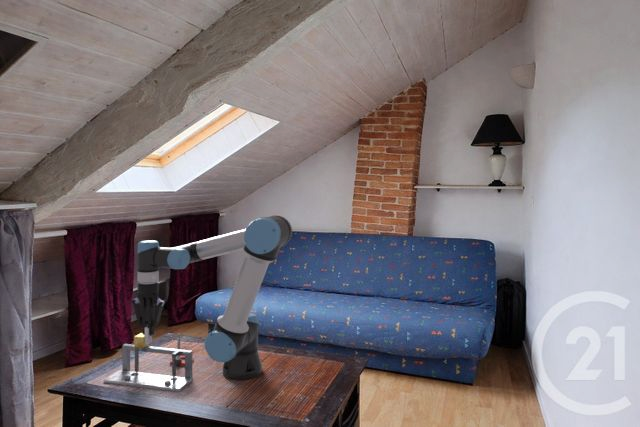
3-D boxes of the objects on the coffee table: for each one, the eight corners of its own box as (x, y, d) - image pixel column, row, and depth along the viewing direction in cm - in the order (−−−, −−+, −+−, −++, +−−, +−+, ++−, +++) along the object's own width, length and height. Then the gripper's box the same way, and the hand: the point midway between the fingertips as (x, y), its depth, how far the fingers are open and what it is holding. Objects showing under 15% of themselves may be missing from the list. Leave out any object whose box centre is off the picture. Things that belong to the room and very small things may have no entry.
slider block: (149, 368, 179) (149, 334, 178) (140, 374, 173) (140, 339, 172) (140, 367, 180) (140, 333, 179) (131, 373, 174) (130, 338, 173)
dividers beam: (192, 377, 175) (192, 350, 174) (185, 383, 170) (185, 355, 169) (125, 370, 180) (125, 343, 179) (117, 375, 175) (117, 348, 175)
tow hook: (177, 357, 195) (167, 365, 186) (178, 327, 194) (168, 333, 185) (196, 359, 193) (187, 367, 184) (197, 328, 193) (188, 335, 184)
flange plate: (191, 381, 172) (191, 376, 172) (179, 391, 163) (179, 386, 163) (119, 372, 178) (119, 367, 178) (103, 382, 169) (103, 377, 169)
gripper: (169, 281, 177) (169, 341, 179) (138, 278, 179) (138, 338, 181) (158, 285, 169) (158, 348, 171) (126, 282, 172) (127, 345, 174)
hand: (148, 343), depth 176 cm, fingers closed
